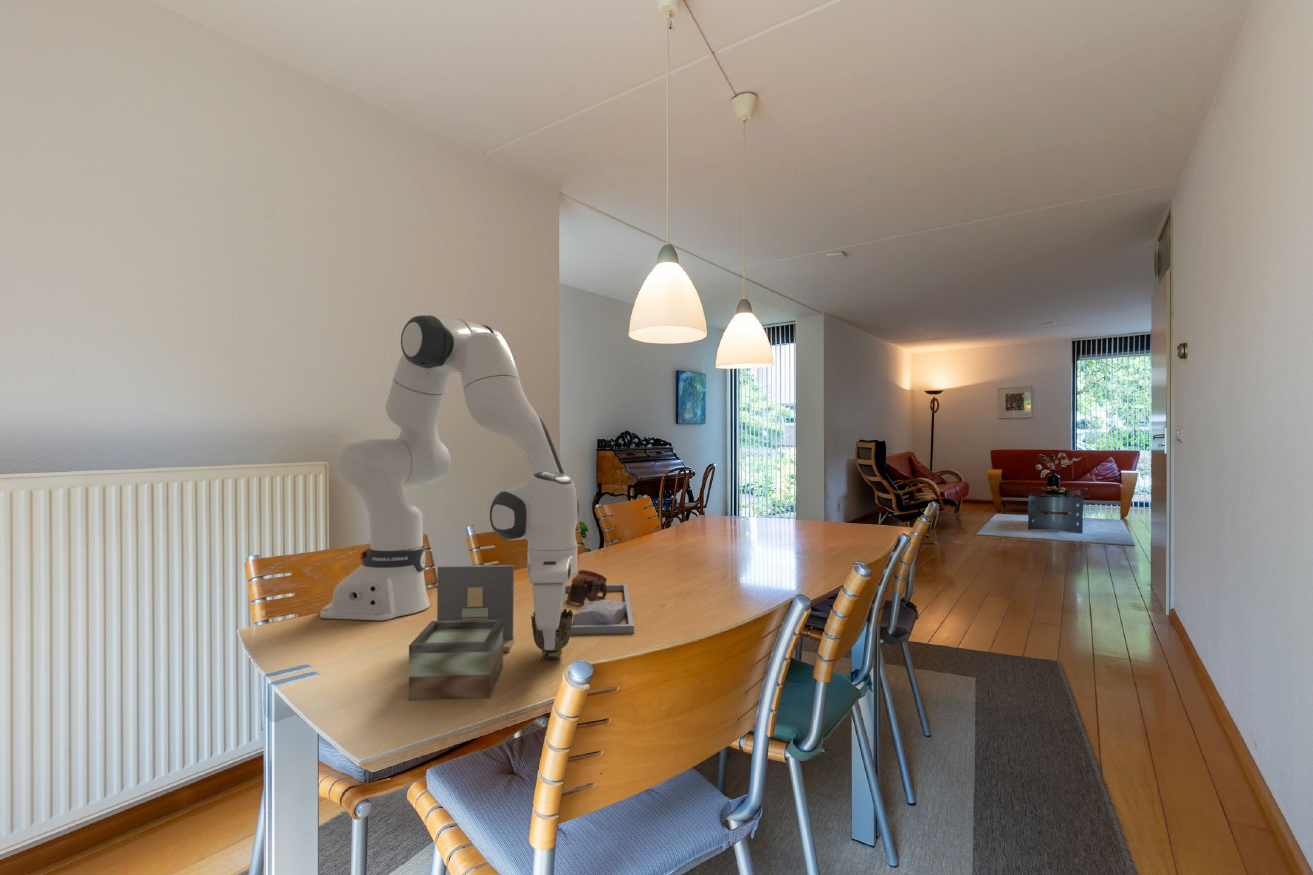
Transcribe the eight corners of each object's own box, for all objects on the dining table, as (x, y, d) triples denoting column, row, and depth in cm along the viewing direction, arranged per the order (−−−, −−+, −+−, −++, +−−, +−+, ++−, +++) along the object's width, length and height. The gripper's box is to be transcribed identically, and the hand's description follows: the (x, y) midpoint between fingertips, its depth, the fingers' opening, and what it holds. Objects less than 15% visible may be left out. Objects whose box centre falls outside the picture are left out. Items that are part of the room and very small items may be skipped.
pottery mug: (558, 600, 146) (569, 568, 150) (591, 613, 150) (601, 582, 153) (578, 599, 136) (589, 565, 140) (612, 613, 140) (623, 579, 143)
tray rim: (549, 635, 119) (549, 627, 119) (560, 591, 153) (561, 585, 153) (634, 633, 121) (634, 625, 121) (627, 589, 155) (627, 584, 155)
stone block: (570, 637, 124) (616, 631, 122) (566, 614, 124) (612, 607, 122) (588, 622, 135) (630, 616, 133) (584, 601, 136) (626, 594, 134)
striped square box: (408, 699, 90) (408, 645, 90) (431, 668, 102) (431, 620, 102) (489, 697, 91) (490, 643, 91) (502, 666, 103) (503, 619, 103)
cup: (539, 648, 112) (539, 606, 112) (577, 650, 111) (577, 607, 111) (524, 663, 104) (525, 618, 104) (565, 666, 103) (565, 620, 103)
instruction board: (431, 654, 109) (431, 572, 108) (440, 642, 114) (440, 564, 114) (509, 652, 110) (509, 570, 110) (514, 641, 116) (514, 563, 116)
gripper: (540, 551, 118) (540, 621, 118) (527, 575, 97) (527, 660, 97) (572, 551, 118) (572, 620, 118) (566, 575, 98) (566, 659, 98)
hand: (552, 639), depth 108 cm, fingers open, 8 cm apart
